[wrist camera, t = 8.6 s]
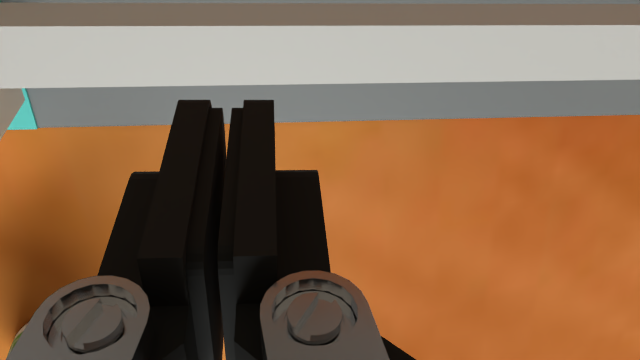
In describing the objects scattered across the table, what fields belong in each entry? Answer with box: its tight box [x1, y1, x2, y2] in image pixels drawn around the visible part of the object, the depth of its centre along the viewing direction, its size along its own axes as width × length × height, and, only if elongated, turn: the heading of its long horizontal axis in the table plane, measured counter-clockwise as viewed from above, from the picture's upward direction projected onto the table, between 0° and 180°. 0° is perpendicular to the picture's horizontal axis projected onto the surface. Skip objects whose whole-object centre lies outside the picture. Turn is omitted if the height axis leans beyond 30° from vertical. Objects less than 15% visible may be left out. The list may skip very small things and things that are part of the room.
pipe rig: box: [0, 0, 640, 130], centre depth 16 cm, size 34×10×6 cm, turn 88°
